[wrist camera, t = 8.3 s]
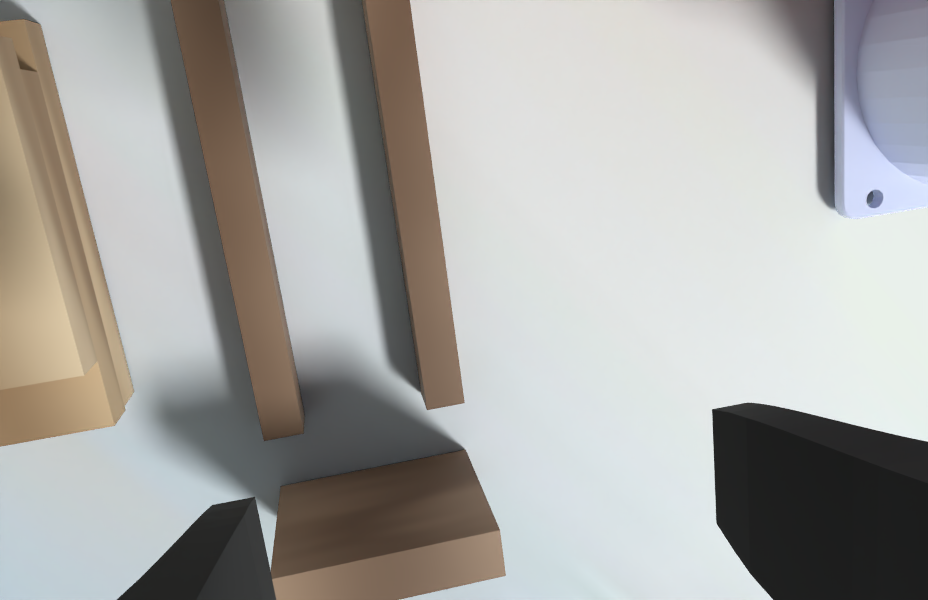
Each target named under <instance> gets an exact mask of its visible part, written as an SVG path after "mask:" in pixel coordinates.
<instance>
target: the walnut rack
mask: <svg viewBox="0 0 928 600" xmlns="http://www.w3.org/2000/svg"><path fill="white" fill-rule="evenodd" d="M171 5H172V10H173V14H174V19H175V24H176V28H177V33H178V38H179V43H180V47H181V52H182V57H183V61H184V66H185V71H186V76H187V80H188V85H189V90H190V94H191V99H192V104H193V109H194V113H195V118H196V123H197V127H198V132H199V137H200V142H201V146H202V151H203V156H204V160H205V165H206V170H207V175H208V179H209V184H210V189H211V194H212V198H213V203H214V208H215V212H216V217H217V222H218V227H219V231H220V236H221V241H222V245H223V250H224V255H225V260H226V264H227V269H228V274H229V278H230V283H231V288H232V293H233V297H234V302H235V307H236V311H237V316H238V321H239V326H240V330H241V335H242V340H243V344H244V349H245V354H246V359H247V363H248V368H249V373H250V378H251V382H252V387H253V392H254V396H255V401H256V406H257V411H258V415H259V420H260V425H261V429H262V434H263V439H264V441H267V440H272V439H277V438H282V437H288V436H293V435H298V434H304V421H305V414H304V409H303V404H302V399H301V394H300V388H299V383H298V378H297V373H296V368H295V363H294V358H293V353H292V347H291V342H290V337H289V332H288V327H287V322H286V317H285V312H284V306H283V301H282V296H281V291H280V286H279V281H278V276H277V271H276V265H275V260H274V255H273V250H272V245H271V240H270V235H269V230H268V224H267V219H266V214H265V209H264V204H263V199H262V194H261V189H260V184H259V178H258V173H257V168H256V163H255V158H254V153H253V148H252V143H251V137H250V132H249V127H248V122H247V117H246V112H245V107H244V102H243V96H242V91H241V86H240V81H239V76H238V71H237V66H236V61H235V55H234V50H233V45H232V40H231V35H230V30H229V25H228V20H227V14H226V9H225V4H224V0H171ZM362 5H363V12H364V18H365V25H366V32H367V38H368V45H369V51H370V58H371V65H372V71H373V78H374V84H375V91H376V98H377V104H378V111H379V117H380V124H381V131H382V137H383V144H384V150H385V157H386V164H387V170H388V177H389V183H390V190H391V197H392V203H393V210H394V216H395V223H396V230H397V236H398V243H399V249H400V256H401V263H402V269H403V276H404V282H405V289H406V296H407V302H408V309H409V315H410V322H411V329H412V335H413V342H414V348H415V355H416V361H417V368H418V375H419V381H420V388H421V394H422V397H423V400H424V403H425V406H426V408H427V410H430V409H436V408H441V407H446V406H451V405H457V404H462V403H464V395H463V388H462V381H461V373H460V366H459V359H458V352H457V344H456V337H455V330H454V322H453V315H452V308H451V300H450V293H449V286H448V278H447V271H446V264H445V256H444V249H443V242H442V234H441V227H440V220H439V212H438V205H437V198H436V190H435V183H434V176H433V168H432V161H431V154H430V146H429V139H428V132H427V124H426V117H425V110H424V102H423V95H422V88H421V80H420V73H419V66H418V58H417V51H416V44H415V36H414V29H413V22H412V14H411V7H410V0H362ZM271 576H272V581H273V586H274V591H275V596H276V600H399V599H404V598H408V597H413V596H417V595H422V594H426V593H431V592H435V591H440V590H444V589H448V588H453V587H457V586H462V585H466V584H471V583H475V582H480V581H484V580H489V579H493V578H498V577H502V576H506V574H505V566H504V558H503V550H502V543H501V535H500V529H499V527H498V525H497V522H496V520H495V518H494V515H493V513H492V511H491V508H490V506H489V504H488V501H487V499H486V497H485V494H484V492H483V490H482V487H481V485H480V482H479V480H478V478H477V475H476V473H475V471H474V468H473V466H472V464H471V461H470V459H469V457H468V454H467V452H466V450H461V451H456V452H451V453H446V454H441V455H436V456H431V457H426V458H421V459H416V460H411V461H406V462H400V463H395V464H390V465H385V466H380V467H375V468H370V469H365V470H360V471H355V472H350V473H345V474H340V475H335V476H330V477H325V478H320V479H315V480H310V481H305V482H300V483H295V484H290V485H285V486H281V487H280V496H279V504H278V513H277V522H276V530H275V539H274V547H273V556H272V564H271Z"/></svg>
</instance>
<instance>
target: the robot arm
mask: <svg viewBox="0 0 928 600" xmlns="http://www.w3.org/2000/svg"><path fill="white" fill-rule="evenodd" d="M834 113H835V207H836V210H837V212H838V213H839V214H840V215H841V216H843V217H846V218H851V219H860V218H866V217H872V216H878V215H884V214H890V213H896V212H902V211H908V210H914V209H920V208H926V207H928V0H834ZM871 191H872V192H873V195H874V197H873V201H872V202H871V204H870V205H867V201H866V200H867V195H868V194H869V193H870V192H871ZM712 415H713V442H714V468H715V495H716V521H717V525H718V526H719V528H720V529H721V531H722V533H723V534H724V536H725V537H726V539H727V540H728V542H729V543H730V545H731V546H732V548H733V550H734V551H735V552H736V554H737V555H738V557H739V558H740V560H741V561H742V562H743V564H744V565H745V567H746V568H747V570H748V571H749V572H750V574H751V575H752V576H753V577H754V578H755V579H756V581H757V582H758V583H759V584H760V585H761V586H762V588H763V589H764V590H765V591H766V592H767V593H768V594H769V595H770V596H771V598H772V599H773V600H928V442H926V441H921V440H916V439H911V438H907V437H902V436H898V435H894V434H889V433H885V432H881V431H876V430H872V429H868V428H864V427H860V426H856V425H852V424H848V423H844V422H840V421H836V420H832V419H827V418H823V417H819V416H815V415H811V414H807V413H803V412H799V411H794V410H790V409H785V408H781V407H776V406H770V405H764V404H756V403H743V404H738V405H733V406H728V407H723V408H717V409H712ZM117 600H276V596H275V591H274V586H273V581H272V576H271V572H270V567H269V562H268V557H267V553H266V548H265V543H264V538H263V533H262V529H261V524H260V519H259V514H258V510H257V505H256V500H255V497H252V498H247V499H242V500H237V501H231V502H226V503H221V504H216V505H212V506H211V507H210V508H209V509H207V510H206V511H205V512H204V513H203V514H202V515H201V516H200V517H199V518H198V519H197V520H196V521H195V522H194V523H193V524H192V525H191V526H190V527H189V529H188V530H187V531H186V532H185V533H184V534H183V535H182V536H181V537H180V538H179V539H178V540H177V541H176V542H175V543H174V544H173V545H172V546H171V547H170V548H169V549H168V550H167V551H166V552H165V553H164V555H163V556H162V557H161V558H160V559H159V560H158V561H157V562H156V563H155V564H154V565H153V566H152V567H151V568H150V569H149V570H148V571H147V572H146V573H145V574H144V575H143V576H142V577H141V578H140V579H139V580H138V581H137V582H136V583H134V584H133V585H132V586H131V587H130V588H129V589H128V590H127V591H126V592H125V593H124V594H123V595H121V596H120V597H119V598H118V599H117Z"/></svg>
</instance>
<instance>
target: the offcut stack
mask: <svg viewBox="0 0 928 600" xmlns="http://www.w3.org/2000/svg"><path fill="white" fill-rule="evenodd" d="M133 393H134V389H133V385H132V381H131V378H130V374H129V370H128V366H127V362H126V358H125V354H124V350H123V346H122V342H121V338H120V334H119V330H118V327H117V323H116V319H115V315H114V311H113V307H112V303H111V299H110V295H109V291H108V287H107V283H106V279H105V276H104V272H103V268H102V264H101V260H100V256H99V252H98V248H97V244H96V240H95V236H94V232H93V228H92V225H91V221H90V217H89V213H88V209H87V205H86V201H85V197H84V193H83V189H82V185H81V181H80V178H79V174H78V170H77V166H76V162H75V158H74V154H73V150H72V146H71V142H70V138H69V134H68V130H67V127H66V123H65V119H64V115H63V111H62V107H61V103H60V99H59V95H58V91H57V87H56V83H55V79H54V76H53V72H52V68H51V64H50V60H49V56H48V52H47V48H46V44H45V40H44V36H43V32H42V28H41V25H40V24H38V23H35V22H32V21H28V20H25V19H19V20H10V21H0V446H6V445H11V444H17V443H22V442H28V441H33V440H39V439H44V438H50V437H55V436H61V435H66V434H72V433H77V432H83V431H88V430H94V429H99V428H105V427H110V426H115V424H116V423H117V422H118V420H119V419H120V417H121V416H122V414H123V413H124V411H125V405H126V403H127V402H128V400H129V399H130V397H131V396H132V394H133Z"/></svg>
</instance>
